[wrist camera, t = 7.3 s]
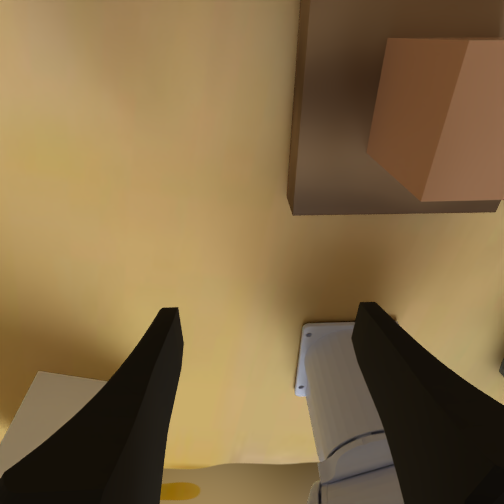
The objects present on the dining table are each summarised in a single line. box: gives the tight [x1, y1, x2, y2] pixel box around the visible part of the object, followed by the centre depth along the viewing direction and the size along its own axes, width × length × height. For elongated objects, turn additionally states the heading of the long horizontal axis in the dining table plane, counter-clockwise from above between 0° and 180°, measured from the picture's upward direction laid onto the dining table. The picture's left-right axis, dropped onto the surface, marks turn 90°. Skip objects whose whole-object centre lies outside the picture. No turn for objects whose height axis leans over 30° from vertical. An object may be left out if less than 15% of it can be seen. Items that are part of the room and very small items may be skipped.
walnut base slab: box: [287, 0, 504, 215], centre depth 17 cm, size 12×12×2 cm
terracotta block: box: [366, 37, 504, 202], centre depth 13 cm, size 5×5×6 cm
